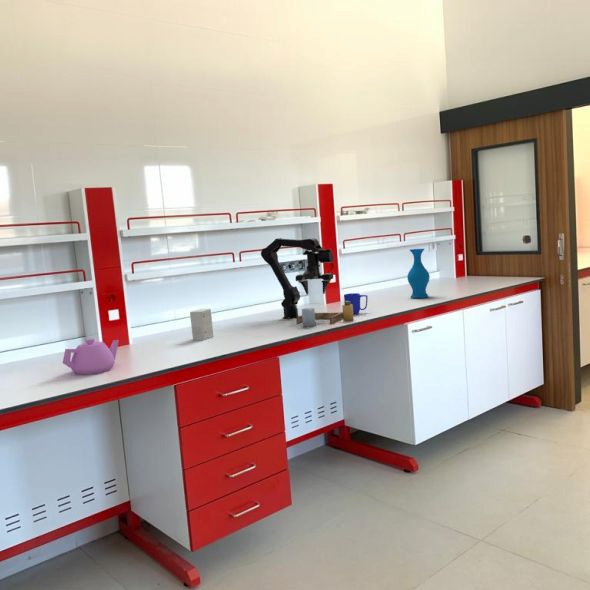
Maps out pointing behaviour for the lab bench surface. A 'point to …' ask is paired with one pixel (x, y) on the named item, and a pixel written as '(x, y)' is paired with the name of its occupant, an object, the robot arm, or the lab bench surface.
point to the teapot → (91, 357)
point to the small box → (201, 324)
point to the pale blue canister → (308, 317)
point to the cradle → (325, 317)
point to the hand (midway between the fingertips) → (315, 294)
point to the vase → (418, 276)
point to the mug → (355, 301)
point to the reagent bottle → (347, 311)
